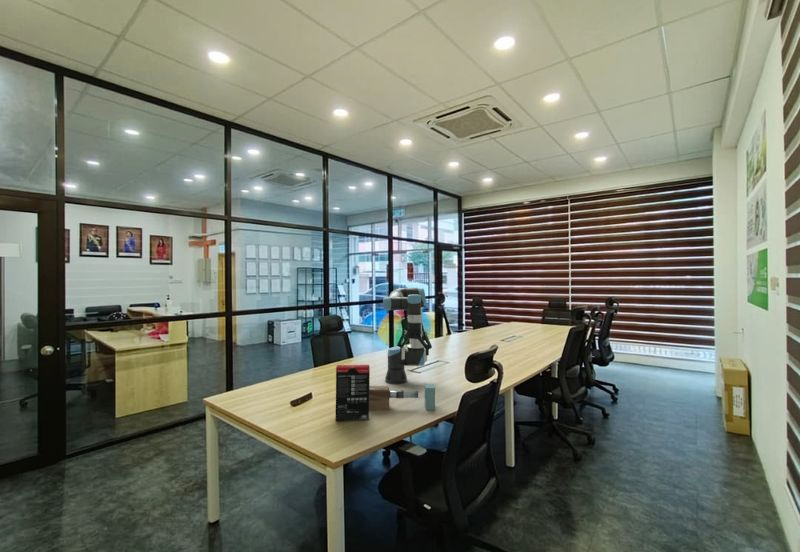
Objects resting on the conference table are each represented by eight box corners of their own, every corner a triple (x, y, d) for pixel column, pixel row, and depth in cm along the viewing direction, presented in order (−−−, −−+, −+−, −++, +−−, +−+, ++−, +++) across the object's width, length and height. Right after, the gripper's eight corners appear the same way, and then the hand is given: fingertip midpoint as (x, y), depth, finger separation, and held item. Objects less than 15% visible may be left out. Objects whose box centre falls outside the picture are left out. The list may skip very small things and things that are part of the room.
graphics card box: (369, 415, 190) (369, 363, 190) (369, 420, 183) (369, 366, 183) (336, 416, 188) (336, 364, 188) (335, 422, 181) (335, 367, 181)
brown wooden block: (368, 405, 205) (368, 385, 205) (389, 405, 205) (389, 385, 205) (366, 409, 198) (366, 389, 198) (388, 409, 198) (388, 389, 198)
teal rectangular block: (424, 404, 205) (424, 383, 205) (433, 404, 205) (433, 383, 205) (425, 410, 197) (425, 387, 197) (435, 410, 197) (434, 387, 197)
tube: (370, 399, 199) (370, 391, 199) (371, 396, 203) (371, 389, 203) (418, 399, 199) (418, 391, 199) (417, 396, 203) (417, 389, 203)
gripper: (391, 321, 205) (391, 359, 205) (433, 323, 195) (433, 363, 194) (396, 320, 212) (397, 357, 212) (437, 322, 201) (437, 360, 201)
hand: (414, 360), depth 203 cm, fingers open, 13 cm apart
